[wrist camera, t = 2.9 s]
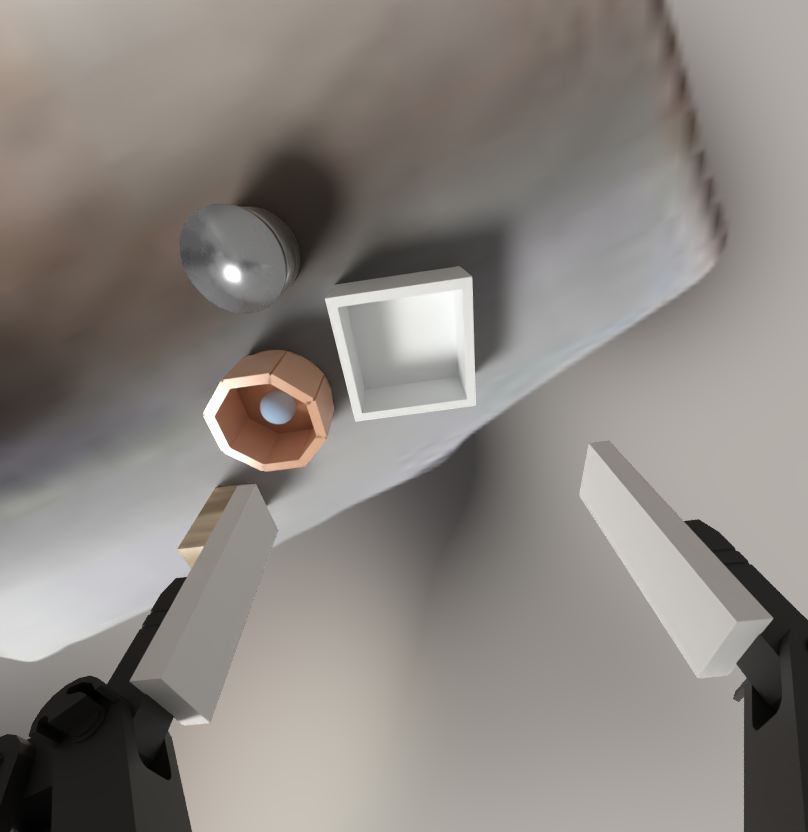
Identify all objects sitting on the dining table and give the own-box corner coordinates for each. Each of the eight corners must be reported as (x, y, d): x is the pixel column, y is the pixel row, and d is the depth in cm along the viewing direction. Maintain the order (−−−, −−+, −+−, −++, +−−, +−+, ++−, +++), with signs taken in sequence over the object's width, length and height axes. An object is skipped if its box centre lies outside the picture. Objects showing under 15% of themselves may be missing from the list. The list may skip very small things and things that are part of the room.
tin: (201, 211, 25) (160, 212, 20) (288, 197, 24) (265, 195, 20) (236, 301, 28) (206, 319, 23) (312, 290, 28) (297, 306, 23)
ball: (260, 387, 31) (250, 404, 28) (293, 382, 31) (285, 398, 28) (271, 414, 33) (263, 433, 30) (303, 410, 33) (296, 428, 30)
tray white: (334, 284, 28) (324, 298, 23) (459, 265, 27) (472, 276, 23) (359, 393, 33) (355, 421, 29) (464, 379, 32) (475, 405, 28)
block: (215, 487, 38) (177, 549, 31) (250, 483, 38) (219, 544, 31) (229, 512, 40) (196, 575, 33) (263, 508, 40) (236, 571, 33)
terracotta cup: (218, 356, 30) (187, 384, 26) (318, 342, 30) (305, 368, 25) (255, 439, 35) (234, 475, 30) (342, 427, 35) (334, 462, 30)
